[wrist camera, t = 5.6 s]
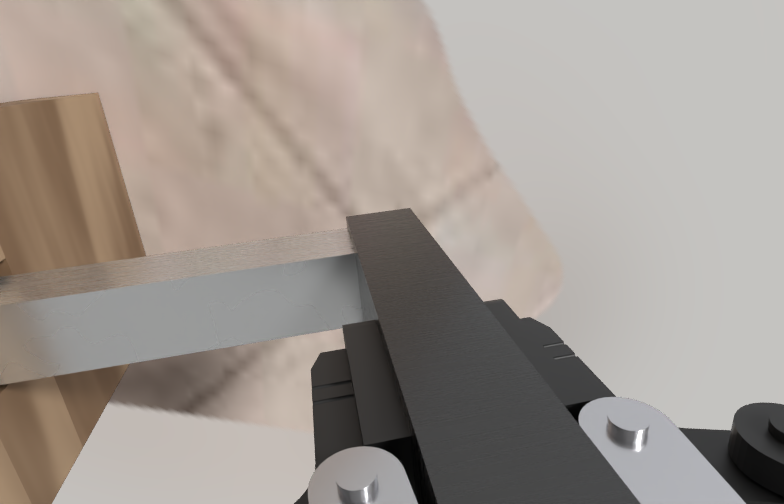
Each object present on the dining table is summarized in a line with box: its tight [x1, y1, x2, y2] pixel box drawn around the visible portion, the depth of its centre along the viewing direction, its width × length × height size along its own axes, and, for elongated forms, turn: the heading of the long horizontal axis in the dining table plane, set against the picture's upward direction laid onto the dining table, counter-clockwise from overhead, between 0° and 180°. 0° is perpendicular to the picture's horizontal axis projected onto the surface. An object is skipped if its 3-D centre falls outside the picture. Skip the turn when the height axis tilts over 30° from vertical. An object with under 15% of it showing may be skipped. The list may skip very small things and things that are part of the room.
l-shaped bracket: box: [0, 208, 641, 504], centre depth 10 cm, size 14×3×12 cm, turn 95°
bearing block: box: [0, 93, 146, 504], centre depth 17 cm, size 3×11×16 cm, turn 5°
